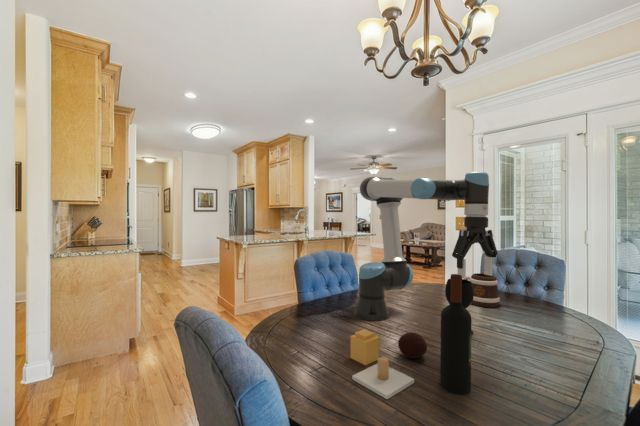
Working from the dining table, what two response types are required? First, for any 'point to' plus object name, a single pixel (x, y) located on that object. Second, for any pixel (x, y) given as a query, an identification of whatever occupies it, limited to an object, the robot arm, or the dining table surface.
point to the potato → (412, 345)
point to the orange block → (364, 347)
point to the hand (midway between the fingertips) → (475, 276)
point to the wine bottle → (455, 343)
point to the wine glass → (466, 293)
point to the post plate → (383, 385)
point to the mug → (484, 290)
